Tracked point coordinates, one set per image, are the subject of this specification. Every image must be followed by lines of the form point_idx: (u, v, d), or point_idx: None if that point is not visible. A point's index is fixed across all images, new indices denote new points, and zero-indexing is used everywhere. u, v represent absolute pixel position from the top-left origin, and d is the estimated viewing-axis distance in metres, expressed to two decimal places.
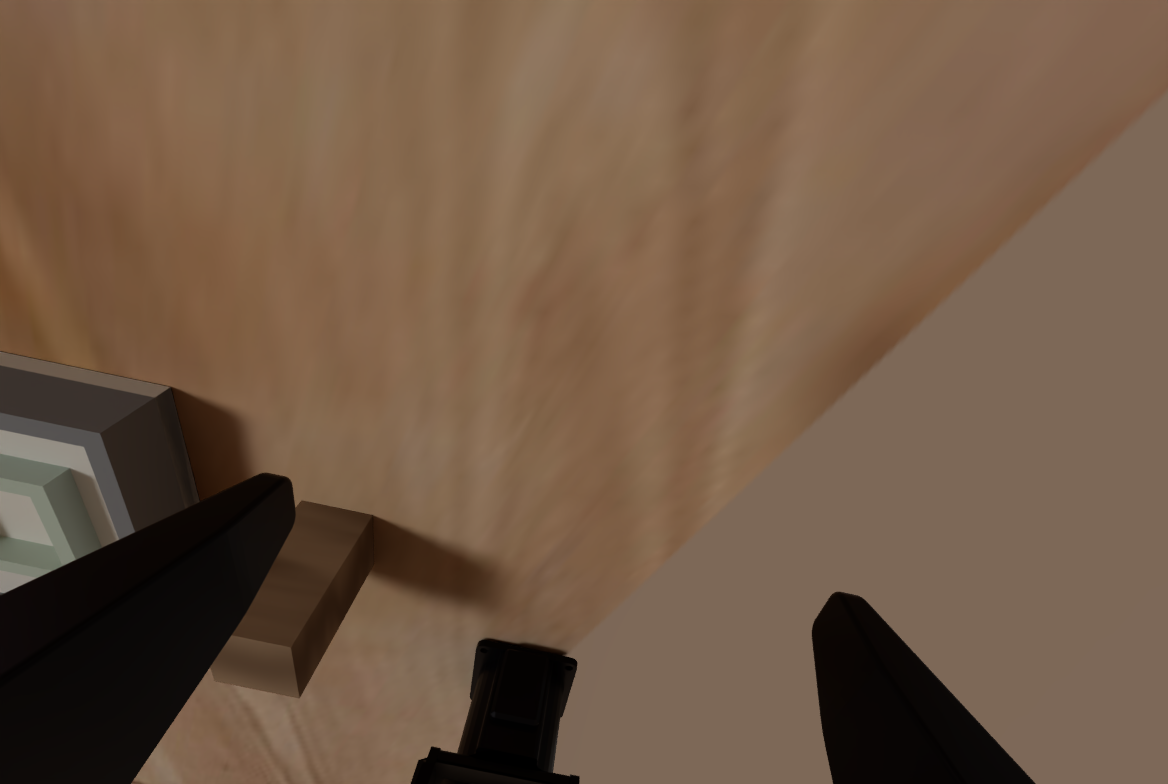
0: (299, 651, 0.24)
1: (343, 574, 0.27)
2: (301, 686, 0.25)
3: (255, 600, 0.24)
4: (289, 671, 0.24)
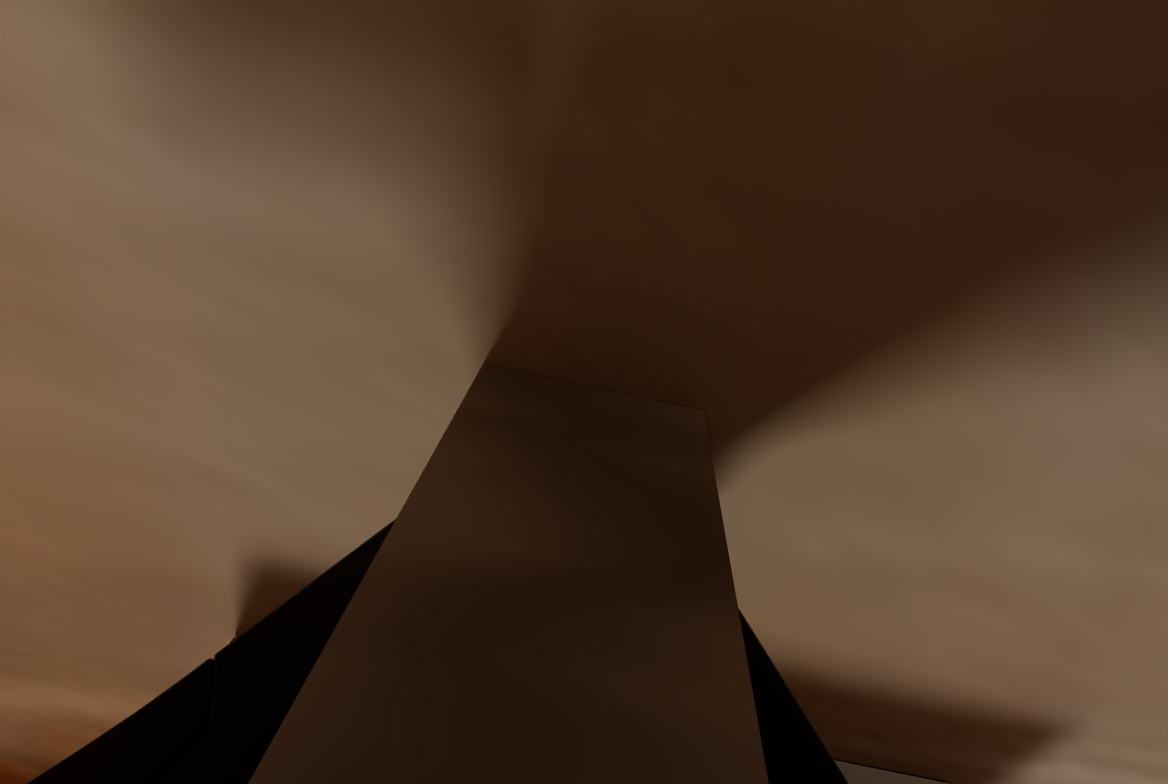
0: None
1: (473, 508, 0.07)
2: None
3: None
4: None
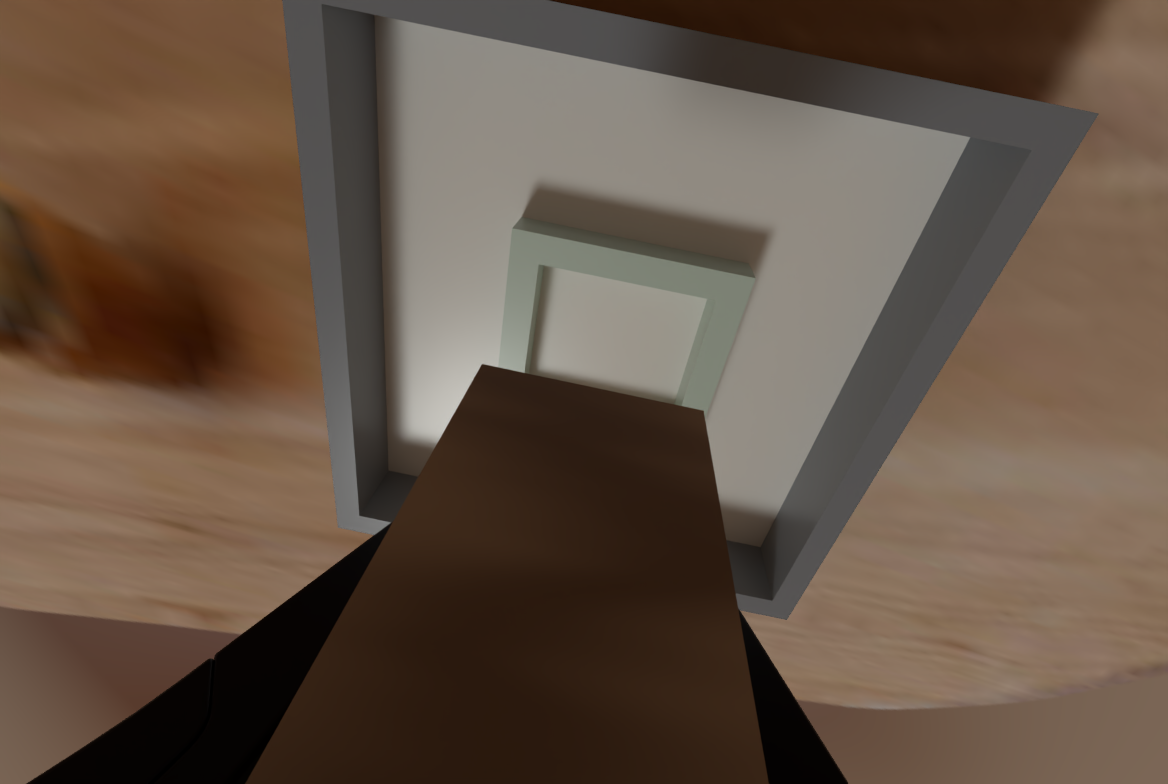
0: None
1: (472, 510, 0.07)
2: None
3: None
4: None
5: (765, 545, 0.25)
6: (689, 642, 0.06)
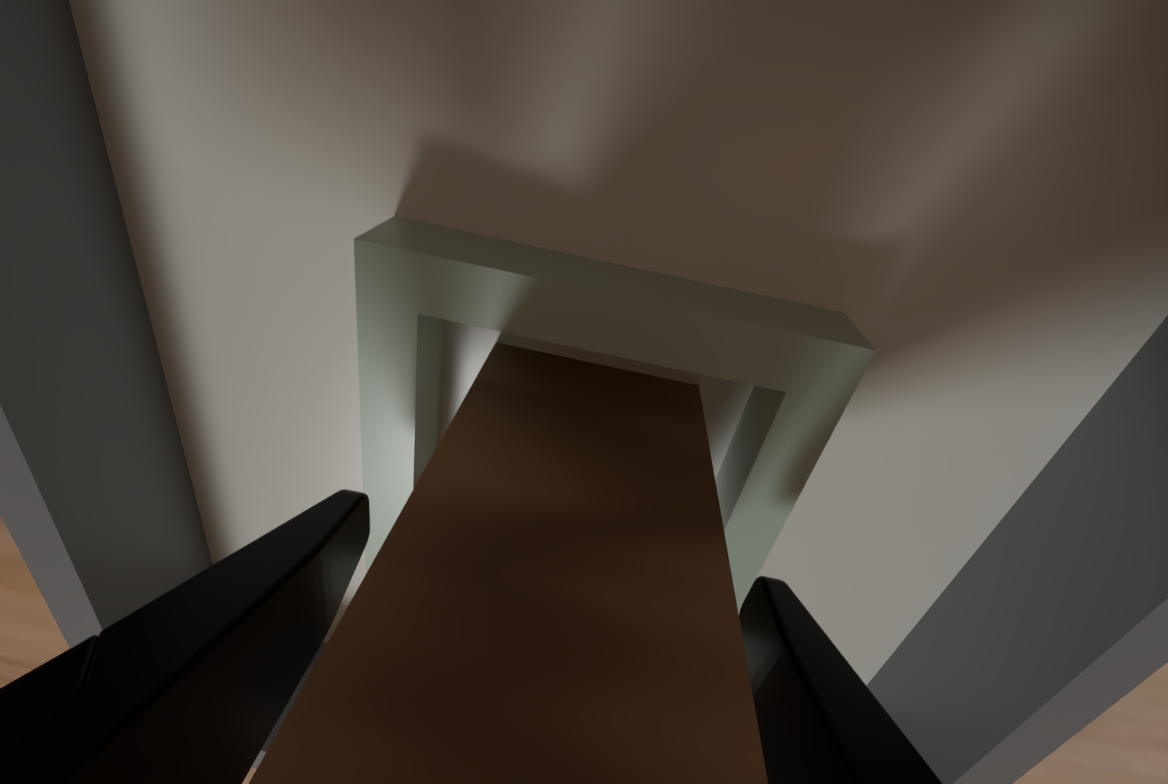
0: None
1: (492, 461, 0.07)
2: None
3: None
4: None
5: None
6: (683, 569, 0.06)
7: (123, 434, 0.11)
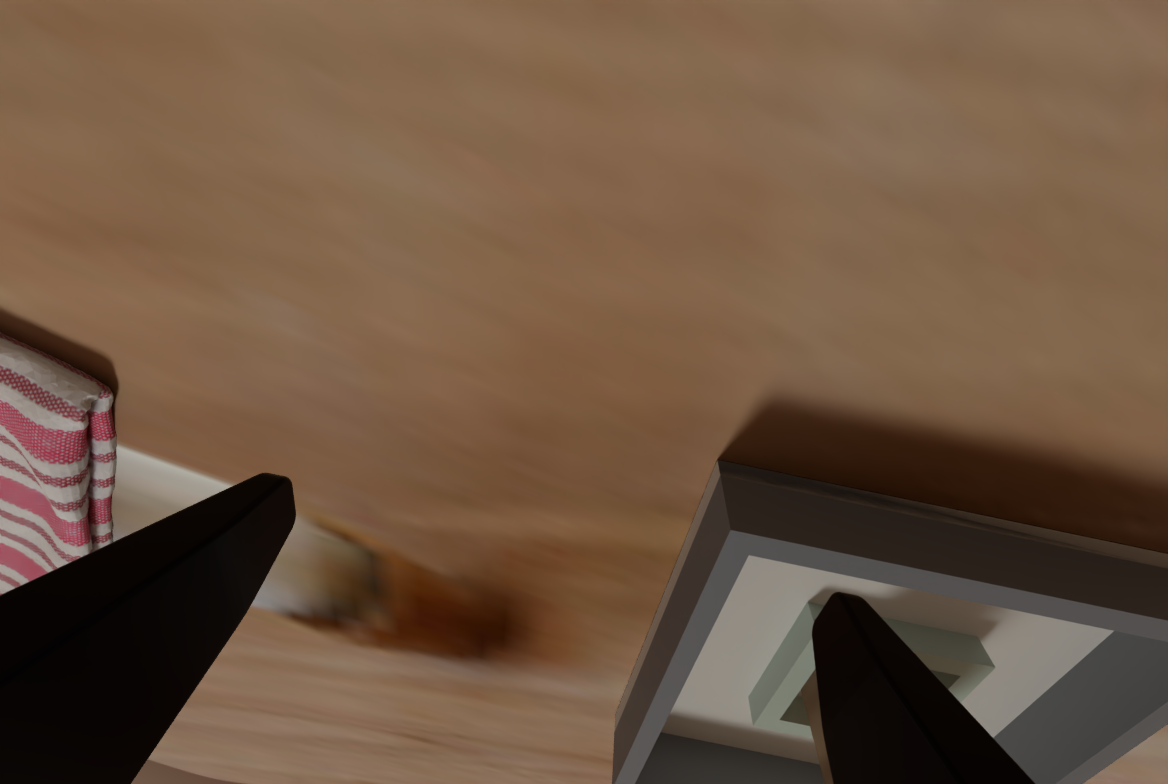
0: None
1: None
2: None
3: None
4: None
5: None
6: None
7: None
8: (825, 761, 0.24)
